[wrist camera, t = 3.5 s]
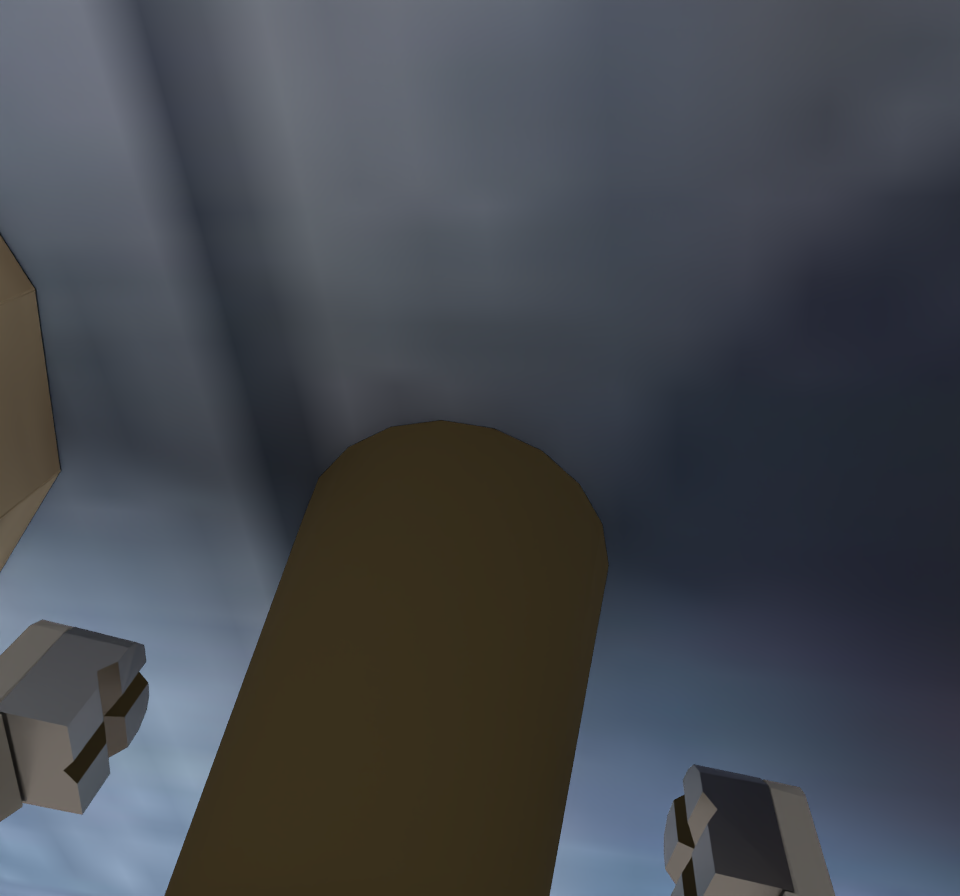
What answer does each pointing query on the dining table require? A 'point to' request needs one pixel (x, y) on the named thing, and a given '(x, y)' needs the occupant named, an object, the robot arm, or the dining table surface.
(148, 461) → the dining table surface
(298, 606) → the dark brown rounded piece
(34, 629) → the robot arm
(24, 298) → the tan faceted ring
